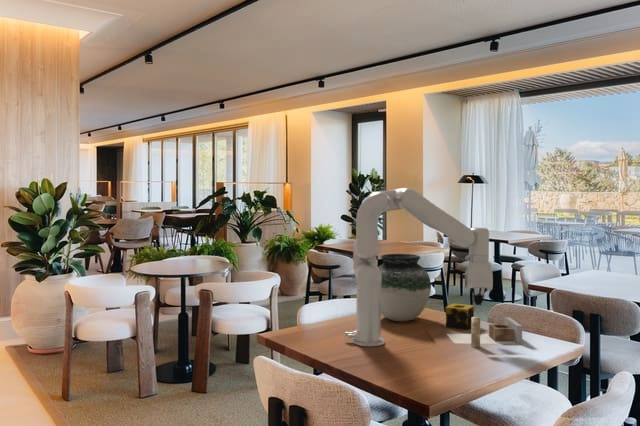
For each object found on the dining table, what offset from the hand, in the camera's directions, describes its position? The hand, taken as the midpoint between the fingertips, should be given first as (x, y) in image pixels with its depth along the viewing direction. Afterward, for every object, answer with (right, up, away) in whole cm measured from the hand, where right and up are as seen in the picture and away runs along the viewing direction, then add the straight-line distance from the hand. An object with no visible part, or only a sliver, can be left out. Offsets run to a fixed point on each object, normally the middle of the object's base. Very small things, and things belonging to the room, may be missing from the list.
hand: (478, 304), depth 206 cm
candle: (-1, -15, +21) cm, 26 cm away
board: (+2, -15, +1) cm, 15 cm away
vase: (-25, -14, +38) cm, 48 cm away
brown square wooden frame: (+9, -14, +1) cm, 17 cm away
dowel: (-4, -15, -10) cm, 19 cm away
